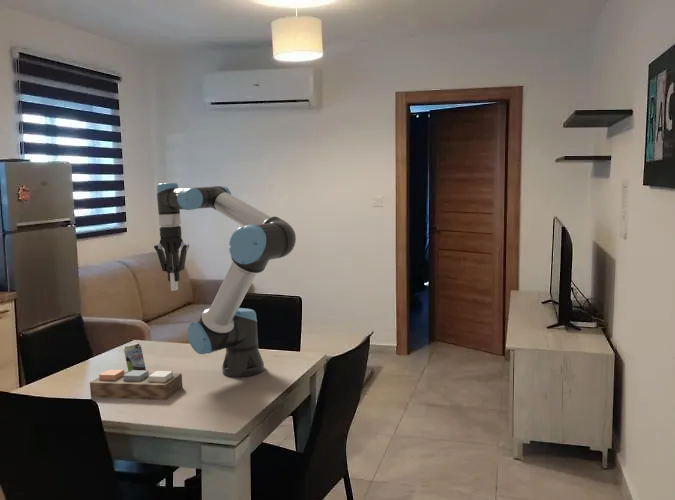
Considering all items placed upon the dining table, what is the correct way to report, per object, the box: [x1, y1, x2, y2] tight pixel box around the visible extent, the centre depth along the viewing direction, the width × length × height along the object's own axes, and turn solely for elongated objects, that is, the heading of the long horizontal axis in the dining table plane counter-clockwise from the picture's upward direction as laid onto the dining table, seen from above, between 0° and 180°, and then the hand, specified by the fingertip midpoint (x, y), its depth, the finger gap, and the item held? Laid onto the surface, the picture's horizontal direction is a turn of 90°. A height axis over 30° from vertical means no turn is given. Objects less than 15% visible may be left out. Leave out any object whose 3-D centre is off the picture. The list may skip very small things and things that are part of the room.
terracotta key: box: [98, 369, 125, 380], centre depth 215 cm, size 6×6×4 cm
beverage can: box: [123, 342, 147, 372], centre depth 231 cm, size 6×7×12 cm
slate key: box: [123, 369, 149, 381], centre depth 213 cm, size 6×6×4 cm
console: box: [89, 371, 184, 401], centre depth 213 cm, size 27×12×5 cm, turn 78°
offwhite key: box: [148, 370, 174, 382], centre depth 211 cm, size 6×6×4 cm
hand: (174, 290), depth 232 cm, fingers closed
